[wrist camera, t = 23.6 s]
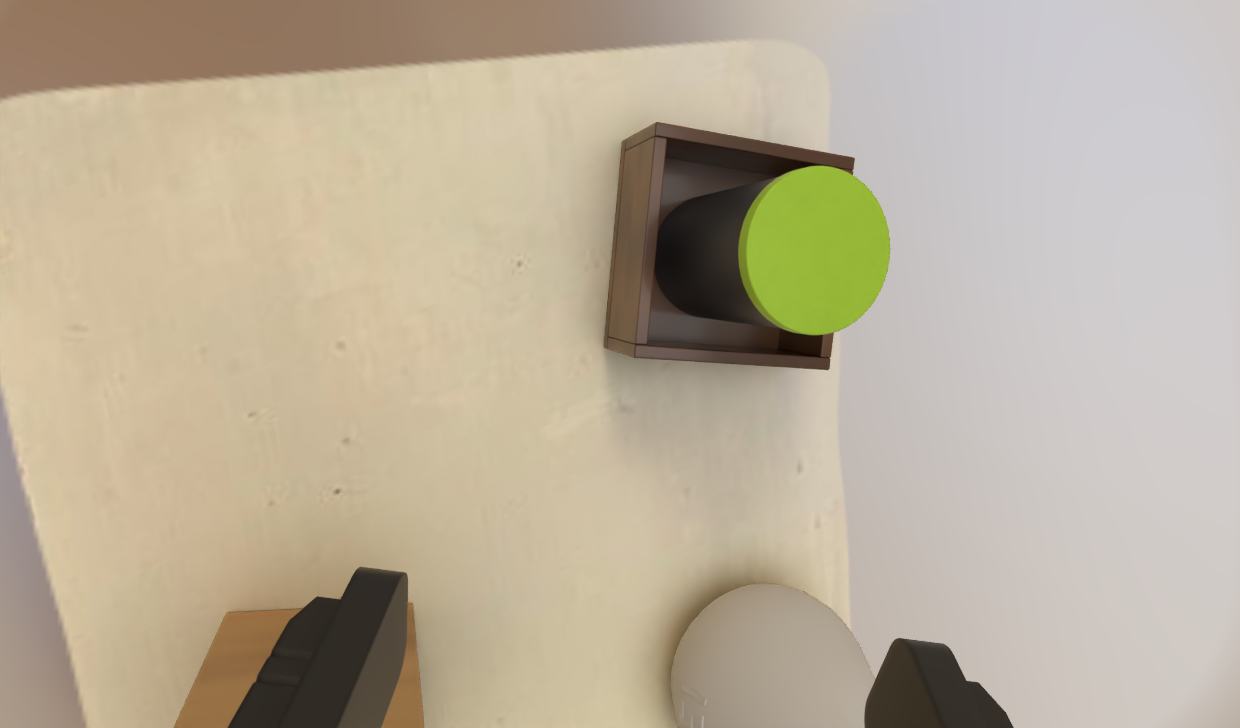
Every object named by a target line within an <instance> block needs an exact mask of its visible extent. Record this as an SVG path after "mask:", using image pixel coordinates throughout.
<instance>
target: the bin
mask: <svg viewBox="0 0 1240 728" xmlns="http://www.w3.org/2000/svg"><path fill="white" fill-rule="evenodd" d="M854 160H855V158H853V157H848V156H842V155H836V154H831V153H826V152H820V151H814V150H809V149H803V148H798V147H792V146H787V145H781V144H776V143H770V142H765V141H759V140H754V139H748V138H743V137H737V136H732V135H726V134H721V133H715V132H709V131H704V130H698V129H693V128H687V127H682V126H676V125H671V124H665V123H660V122H656V123H654V124H652V125H650V126H649V127H647V128H645V129H643V130H641V131H640V132H638V133H636V134H634V135H632V136H631V137H629V138H627V139H625V140H623V141H622V151H621V162H620V173H619V184H618V195H617V206H616V217H615V228H614V239H613V250H612V261H611V272H610V283H609V294H608V305H607V316H606V327H605V338H604V348H607V349H610V350H613V351H616V352H619V353H622V354H625V355H628V356H631V357H634V358H647V359H662V360H678V361H694V362H709V363H725V364H741V365H756V366H772V367H788V368H803V369H819V370H829V367H830V357H831V351H832V342H833V334H834V332H833V333H830V334H824V335H806V334H799V333H793V332H790V331H787V330H784V329H781V328H773V327H766V326H758V325H751V324H744V323H736V322H729V321H722V320H714V319H707V318H700V317H695V316H692V315H689V314H687V313H685V312H683V311H681V310H680V309H678V308H677V307H676V306H675V305H673V304H672V303H671V302H670V301H669V299H668V298H667V297H666V296H665V294H664V293H663V291H662V290H661V288H660V286H659V284H658V281H657V278H656V275H655V270H654V269H655V259H656V248H657V238H658V231H659V229H660V227H661V225H662V223H663V222H664V220H665V219H666V217H667V216H668V215H669V214H670V213H671V212H672V211H673V210H674V209H675V208H676V207H677V206H679V205H680V204H681V203H683V202H685V201H687V200H689V199H692V198H694V197H699V196H703V195H707V194H711V193H715V192H719V191H723V190H727V189H731V188H735V187H739V186H743V185H747V184H751V183H755V182H760V181H764V180H768V179H772V178H776V177H780V176H782V175H783V174H785V173H788V172H791V171H793V170H797V169H801V168H805V167H810V166H829V167H834V168H838V169H841V170H843V171H845V172H848V173H850V174H851V175H853V171H852V170H853V169H854Z"/></svg>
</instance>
